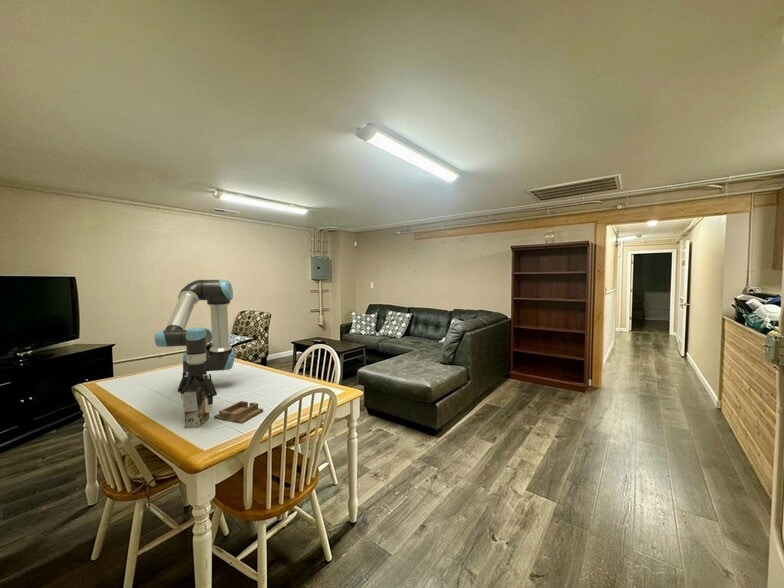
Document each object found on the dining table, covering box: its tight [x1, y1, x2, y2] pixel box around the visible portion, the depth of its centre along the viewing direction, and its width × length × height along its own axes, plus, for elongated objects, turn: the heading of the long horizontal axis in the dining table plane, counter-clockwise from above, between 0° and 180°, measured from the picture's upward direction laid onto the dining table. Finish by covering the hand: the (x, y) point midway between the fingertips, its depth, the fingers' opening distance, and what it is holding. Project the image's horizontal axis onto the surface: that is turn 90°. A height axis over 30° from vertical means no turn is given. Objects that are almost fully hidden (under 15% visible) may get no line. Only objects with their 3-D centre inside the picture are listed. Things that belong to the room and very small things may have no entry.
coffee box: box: [183, 385, 210, 429], centre depth 140 cm, size 9×6×16 cm
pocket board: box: [213, 400, 264, 425], centre depth 150 cm, size 16×14×4 cm
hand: (197, 409), depth 140 cm, fingers open, 13 cm apart
